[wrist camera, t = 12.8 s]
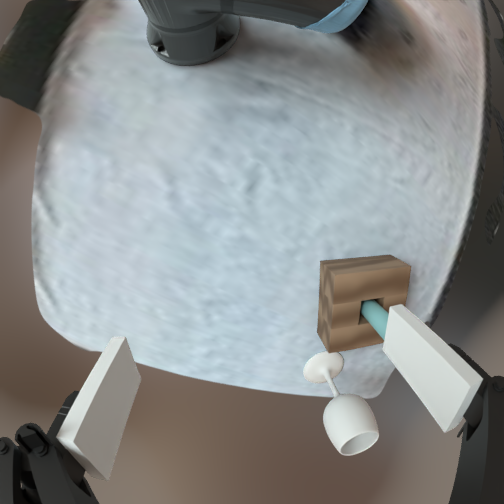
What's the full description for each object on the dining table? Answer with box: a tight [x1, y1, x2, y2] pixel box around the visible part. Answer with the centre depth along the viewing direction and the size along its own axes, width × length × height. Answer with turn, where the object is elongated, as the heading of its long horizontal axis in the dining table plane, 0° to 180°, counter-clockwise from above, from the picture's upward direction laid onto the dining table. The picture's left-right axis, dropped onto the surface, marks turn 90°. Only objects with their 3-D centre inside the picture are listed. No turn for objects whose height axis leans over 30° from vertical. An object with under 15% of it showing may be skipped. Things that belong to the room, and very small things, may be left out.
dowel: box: [360, 299, 389, 340], centre depth 40 cm, size 3×3×12 cm
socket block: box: [317, 255, 411, 353], centre depth 44 cm, size 14×14×7 cm
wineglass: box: [303, 351, 379, 455], centre depth 42 cm, size 9×9×21 cm
